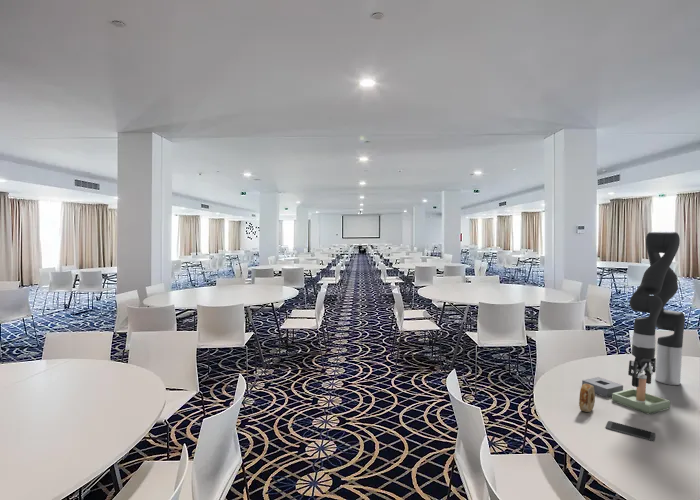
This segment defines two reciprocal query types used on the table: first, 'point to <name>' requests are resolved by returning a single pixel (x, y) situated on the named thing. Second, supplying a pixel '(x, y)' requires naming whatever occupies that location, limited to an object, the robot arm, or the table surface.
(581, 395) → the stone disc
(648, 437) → the cell phone
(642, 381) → the peg
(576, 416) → the table surface
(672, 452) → the table surface
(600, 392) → the grey flat square piece
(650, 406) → the parts tray
